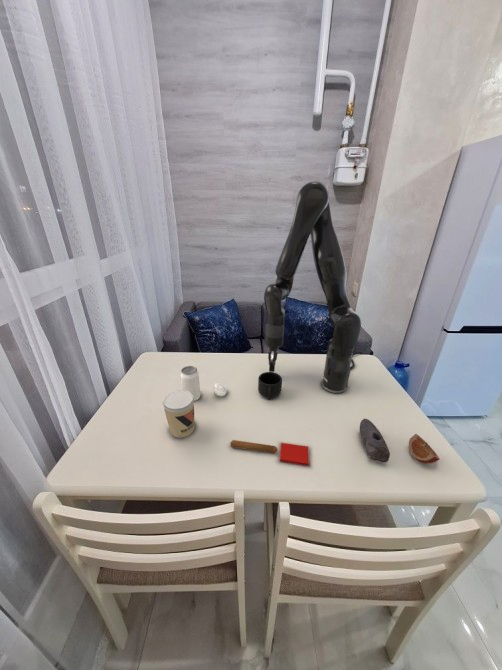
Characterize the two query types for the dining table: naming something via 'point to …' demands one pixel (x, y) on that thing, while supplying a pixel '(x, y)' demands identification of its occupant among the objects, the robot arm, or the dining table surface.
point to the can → (191, 381)
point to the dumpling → (219, 390)
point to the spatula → (287, 454)
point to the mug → (269, 384)
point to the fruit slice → (422, 450)
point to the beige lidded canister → (179, 413)
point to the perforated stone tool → (374, 442)
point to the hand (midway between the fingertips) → (271, 370)
